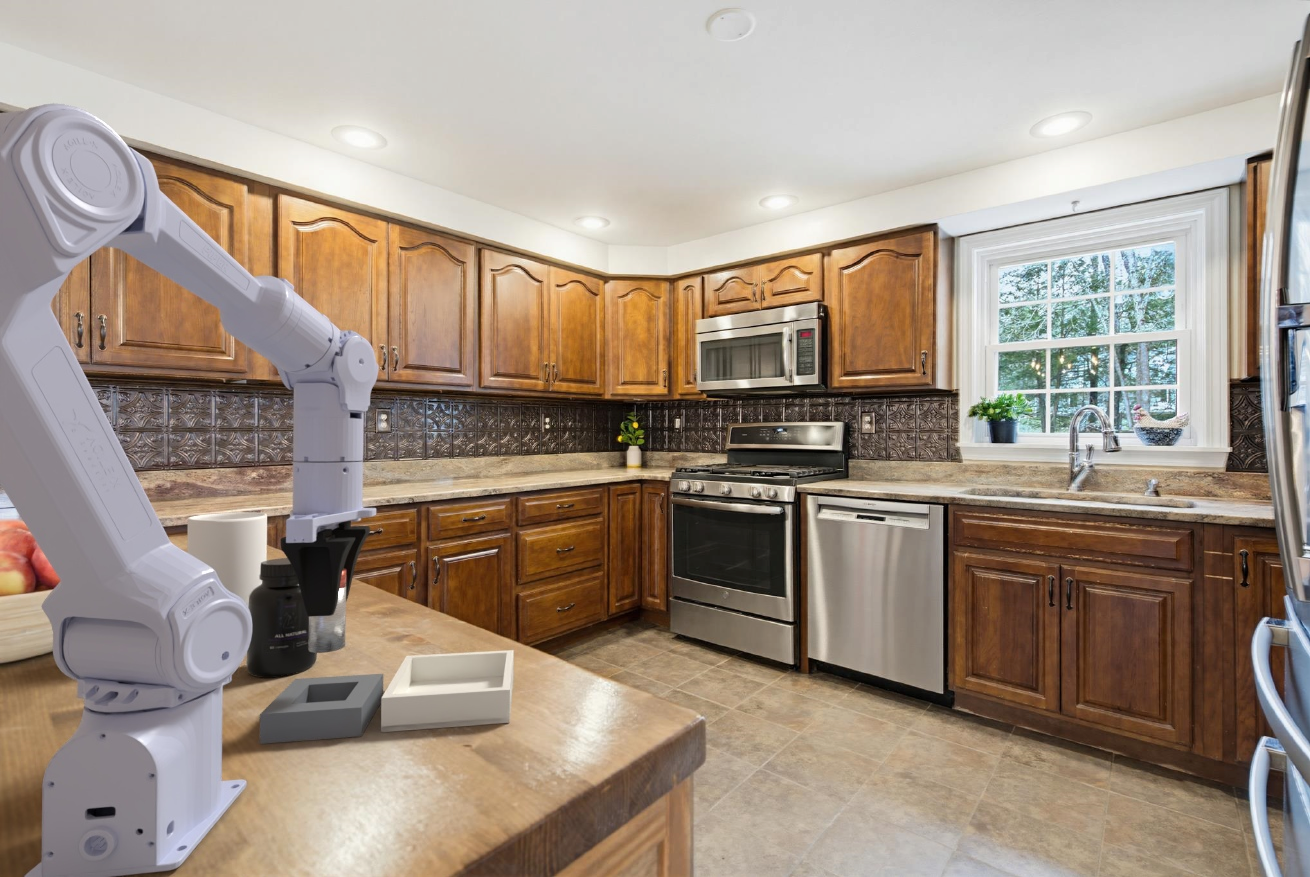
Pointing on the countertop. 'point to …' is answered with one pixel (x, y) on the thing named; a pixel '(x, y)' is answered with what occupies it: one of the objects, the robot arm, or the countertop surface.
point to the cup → (231, 547)
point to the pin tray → (449, 691)
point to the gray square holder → (322, 708)
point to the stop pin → (329, 626)
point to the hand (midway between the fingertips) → (327, 609)
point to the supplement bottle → (278, 623)
